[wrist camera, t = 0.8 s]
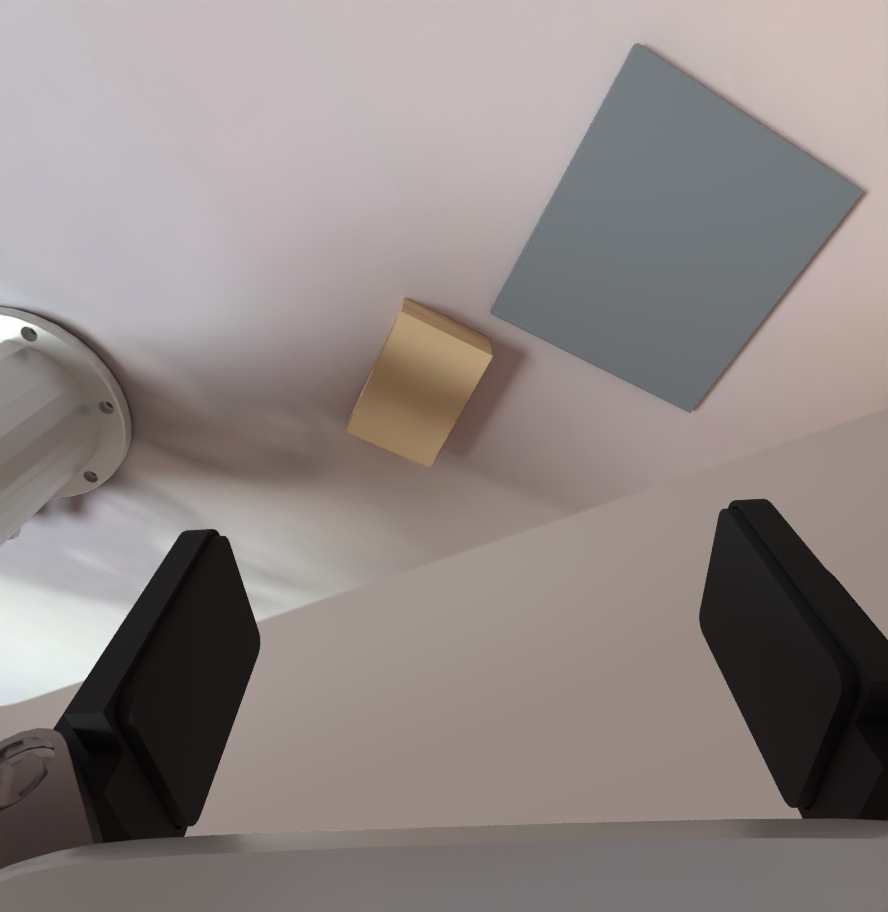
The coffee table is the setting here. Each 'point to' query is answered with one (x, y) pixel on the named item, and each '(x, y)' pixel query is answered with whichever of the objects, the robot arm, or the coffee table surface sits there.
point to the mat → (670, 234)
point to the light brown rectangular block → (419, 383)
